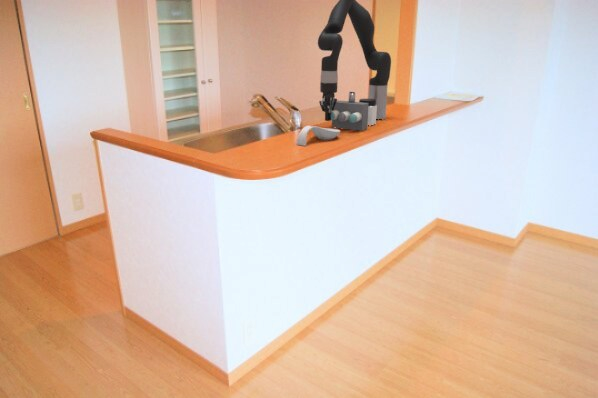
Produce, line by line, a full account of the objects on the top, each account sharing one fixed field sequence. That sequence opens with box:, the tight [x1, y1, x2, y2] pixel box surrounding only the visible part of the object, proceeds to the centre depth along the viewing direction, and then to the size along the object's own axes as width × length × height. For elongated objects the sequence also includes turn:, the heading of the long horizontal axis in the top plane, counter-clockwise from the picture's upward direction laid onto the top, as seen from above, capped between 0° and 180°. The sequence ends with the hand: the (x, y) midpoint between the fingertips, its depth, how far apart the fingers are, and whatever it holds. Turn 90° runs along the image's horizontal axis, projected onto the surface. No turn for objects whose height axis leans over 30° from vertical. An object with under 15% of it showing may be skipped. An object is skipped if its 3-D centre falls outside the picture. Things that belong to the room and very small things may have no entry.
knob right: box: [349, 112, 362, 123], centre depth 218 cm, size 11×4×4 cm, turn 149°
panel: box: [331, 99, 369, 132], centre depth 223 cm, size 6×16×12 cm, turn 59°
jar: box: [358, 98, 377, 126], centre depth 232 cm, size 9×8×12 cm
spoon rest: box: [296, 125, 341, 147], centre depth 200 cm, size 24×12×7 cm, turn 143°
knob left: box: [330, 110, 340, 121], centre depth 223 cm, size 11×4×4 cm, turn 149°
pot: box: [348, 91, 356, 103], centre depth 222 cm, size 3×3×5 cm
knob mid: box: [338, 111, 350, 122], centre depth 221 cm, size 11×4×4 cm, turn 149°
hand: (327, 120), depth 217 cm, fingers closed
